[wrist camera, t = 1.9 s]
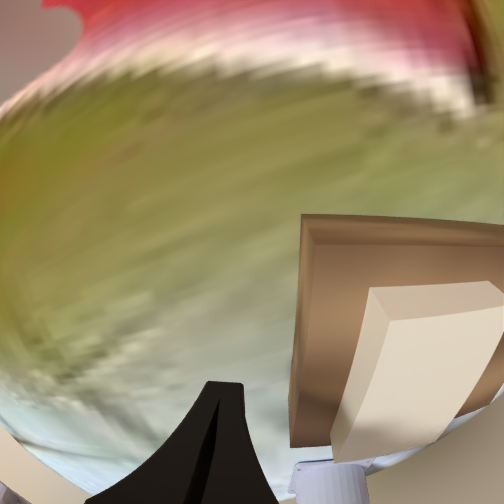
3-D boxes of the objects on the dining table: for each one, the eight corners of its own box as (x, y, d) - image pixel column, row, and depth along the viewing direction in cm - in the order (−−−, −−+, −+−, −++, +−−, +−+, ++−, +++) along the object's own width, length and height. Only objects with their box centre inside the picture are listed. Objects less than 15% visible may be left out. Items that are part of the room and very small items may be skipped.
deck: (468, 371, 15) (488, 404, 12) (288, 398, 16) (290, 447, 13) (519, 226, 11) (559, 248, 7) (301, 213, 12) (315, 244, 8)
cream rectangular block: (424, 416, 12) (435, 441, 10) (329, 433, 12) (333, 463, 10) (488, 280, 8) (515, 303, 7) (369, 287, 9) (390, 320, 7)
